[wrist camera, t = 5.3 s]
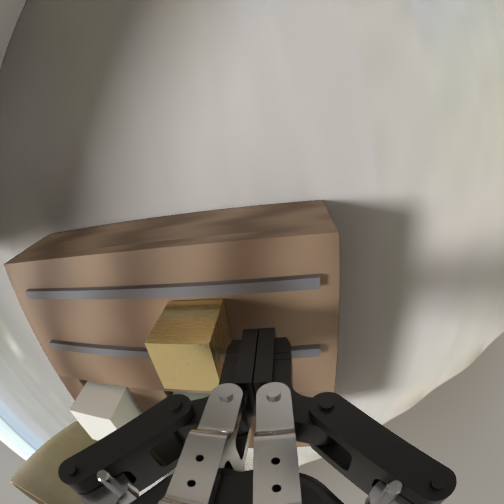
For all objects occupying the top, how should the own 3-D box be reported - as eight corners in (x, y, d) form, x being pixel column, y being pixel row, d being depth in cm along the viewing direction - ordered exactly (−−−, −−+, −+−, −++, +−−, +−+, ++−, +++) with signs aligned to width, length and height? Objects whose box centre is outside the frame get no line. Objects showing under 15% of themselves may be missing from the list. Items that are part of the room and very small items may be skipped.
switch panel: (322, 199, 19) (340, 235, 13) (323, 392, 26) (328, 448, 20) (49, 234, 22) (0, 266, 16) (115, 387, 29) (93, 430, 23)
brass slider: (223, 299, 15) (209, 344, 12) (232, 344, 16) (222, 391, 13) (168, 301, 16) (144, 343, 12) (181, 344, 17) (164, 388, 14)
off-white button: (133, 373, 21) (110, 419, 17) (150, 404, 23) (131, 448, 18) (95, 368, 22) (69, 410, 17) (113, 398, 23) (92, 439, 19)
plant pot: (70, 396, 31) (18, 484, 17) (152, 455, 35) (123, 543, 21) (41, 413, 36) (2, 479, 22) (107, 462, 40) (80, 529, 25)
